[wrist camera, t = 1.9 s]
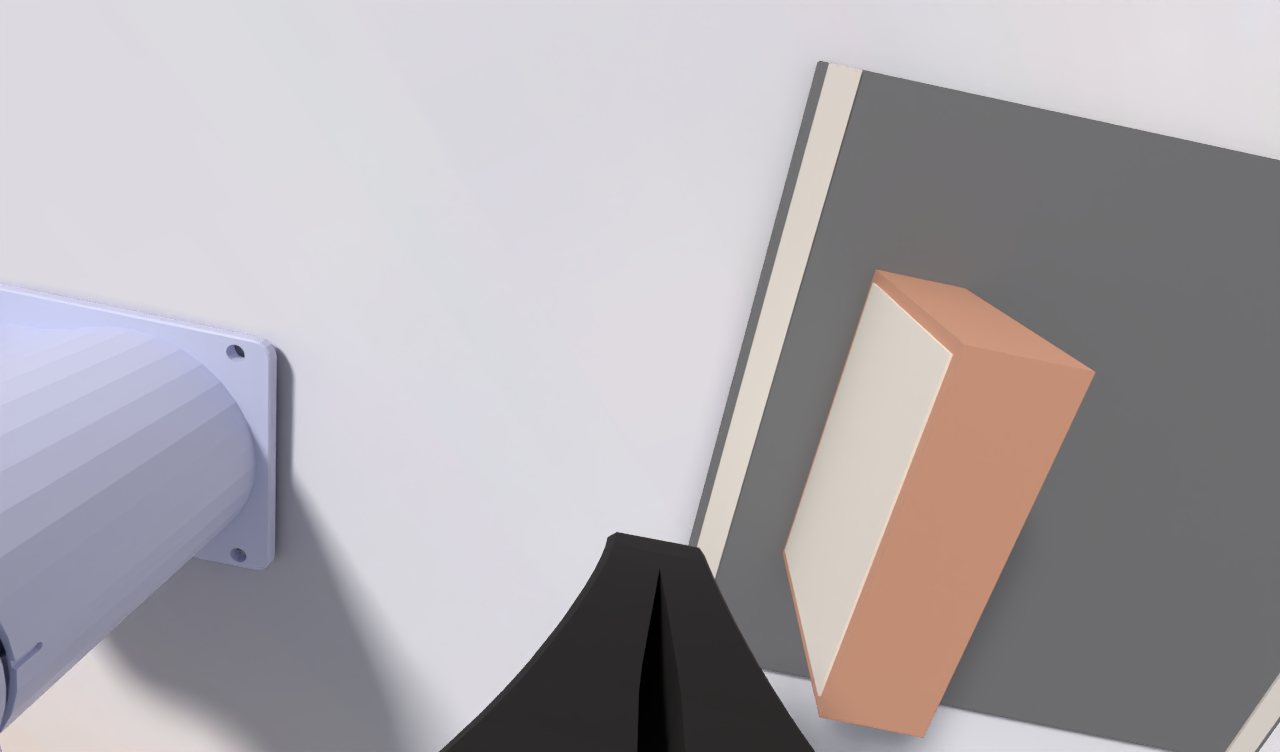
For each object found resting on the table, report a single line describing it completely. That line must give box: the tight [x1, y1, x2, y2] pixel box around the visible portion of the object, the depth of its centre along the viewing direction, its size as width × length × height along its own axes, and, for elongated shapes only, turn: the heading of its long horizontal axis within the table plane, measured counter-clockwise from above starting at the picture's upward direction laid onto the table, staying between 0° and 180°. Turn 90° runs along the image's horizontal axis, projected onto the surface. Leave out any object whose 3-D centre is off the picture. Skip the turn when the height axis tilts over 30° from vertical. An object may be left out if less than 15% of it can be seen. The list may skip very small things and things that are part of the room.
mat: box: [688, 61, 1280, 752], centre depth 20 cm, size 20×18×1 cm
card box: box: [783, 270, 1095, 738], centre depth 17 cm, size 2×9×6 cm, turn 168°
